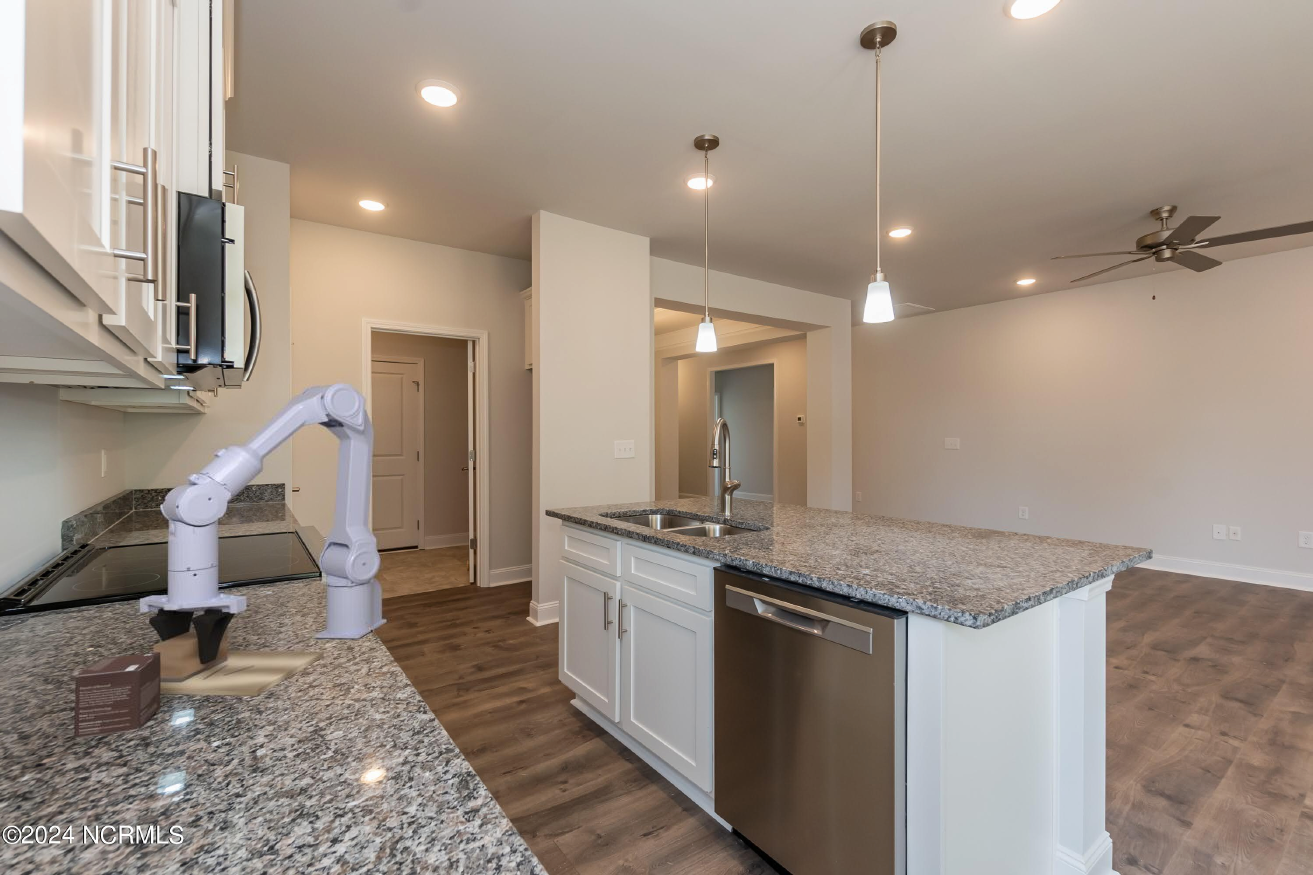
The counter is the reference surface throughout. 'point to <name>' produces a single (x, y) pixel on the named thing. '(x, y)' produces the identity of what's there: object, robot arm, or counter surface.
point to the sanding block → (186, 657)
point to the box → (117, 694)
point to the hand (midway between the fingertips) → (193, 661)
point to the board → (244, 673)
